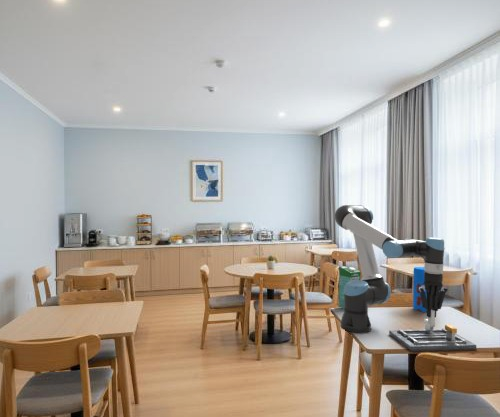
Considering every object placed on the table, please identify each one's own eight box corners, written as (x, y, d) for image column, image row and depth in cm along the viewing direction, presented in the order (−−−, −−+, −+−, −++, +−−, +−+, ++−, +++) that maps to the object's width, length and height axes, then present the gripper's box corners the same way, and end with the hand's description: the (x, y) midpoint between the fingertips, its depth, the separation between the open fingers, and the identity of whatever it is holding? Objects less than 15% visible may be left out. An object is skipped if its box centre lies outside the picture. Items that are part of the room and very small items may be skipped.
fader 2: (451, 342, 162) (452, 328, 162) (444, 338, 167) (444, 324, 167) (456, 342, 162) (456, 328, 162) (449, 338, 167) (449, 324, 167)
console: (411, 351, 157) (411, 343, 157) (388, 334, 177) (389, 327, 177) (476, 349, 159) (476, 342, 159) (447, 333, 180) (447, 326, 180)
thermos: (409, 309, 222) (410, 268, 221) (417, 305, 229) (418, 266, 229) (428, 313, 214) (429, 270, 213) (435, 309, 221) (436, 268, 221)
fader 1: (430, 335, 170) (430, 322, 170) (423, 331, 175) (424, 318, 175) (434, 335, 170) (434, 322, 170) (428, 331, 176) (428, 318, 175)
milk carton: (349, 310, 216) (350, 268, 216) (338, 307, 224) (339, 266, 224) (360, 308, 221) (360, 267, 221) (348, 305, 229) (349, 265, 228)
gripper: (424, 274, 159) (421, 327, 160) (452, 274, 160) (449, 327, 161) (415, 270, 166) (412, 321, 167) (442, 270, 168) (439, 321, 168)
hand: (430, 324), depth 164 cm, fingers closed
